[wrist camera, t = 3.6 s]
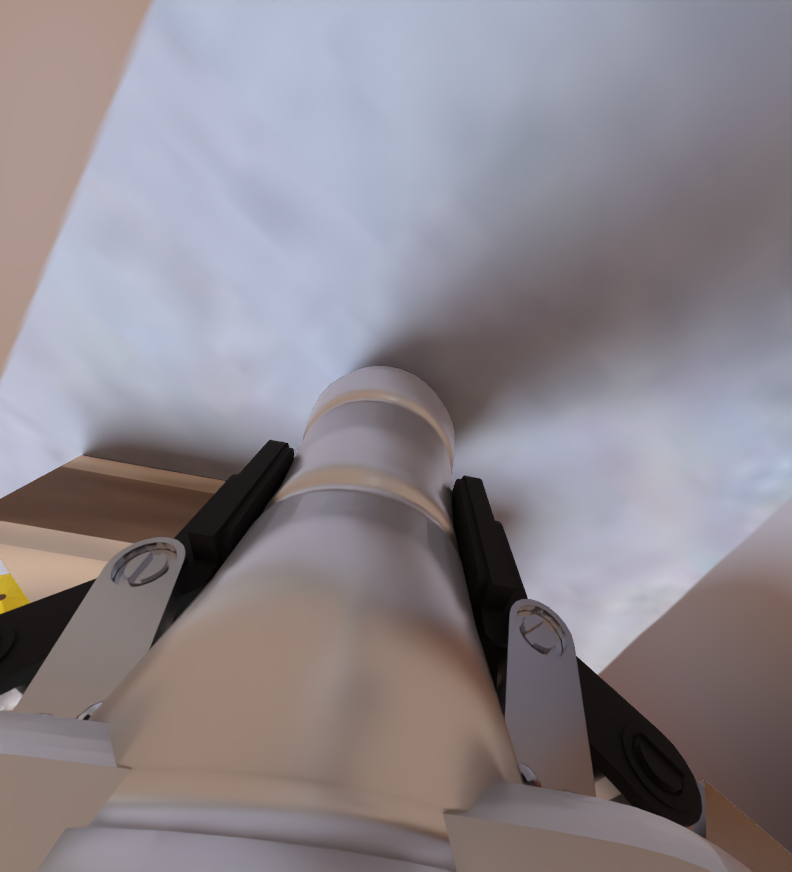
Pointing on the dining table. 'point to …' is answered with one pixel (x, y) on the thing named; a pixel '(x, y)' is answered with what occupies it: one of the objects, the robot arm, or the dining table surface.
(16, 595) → the lemon
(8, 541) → the brown slotted block
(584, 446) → the dining table surface
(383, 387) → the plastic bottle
